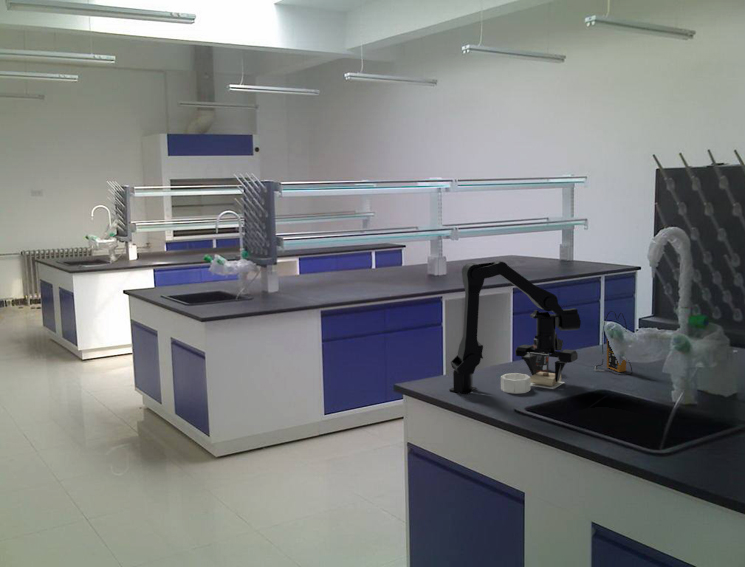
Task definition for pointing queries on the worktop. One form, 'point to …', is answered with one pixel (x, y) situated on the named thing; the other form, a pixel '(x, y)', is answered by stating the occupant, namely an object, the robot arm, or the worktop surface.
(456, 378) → the robot arm
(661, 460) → the worktop surface
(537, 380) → the lid
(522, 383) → the bowl
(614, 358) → the multimeter
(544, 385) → the mat
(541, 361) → the supplement bottle
